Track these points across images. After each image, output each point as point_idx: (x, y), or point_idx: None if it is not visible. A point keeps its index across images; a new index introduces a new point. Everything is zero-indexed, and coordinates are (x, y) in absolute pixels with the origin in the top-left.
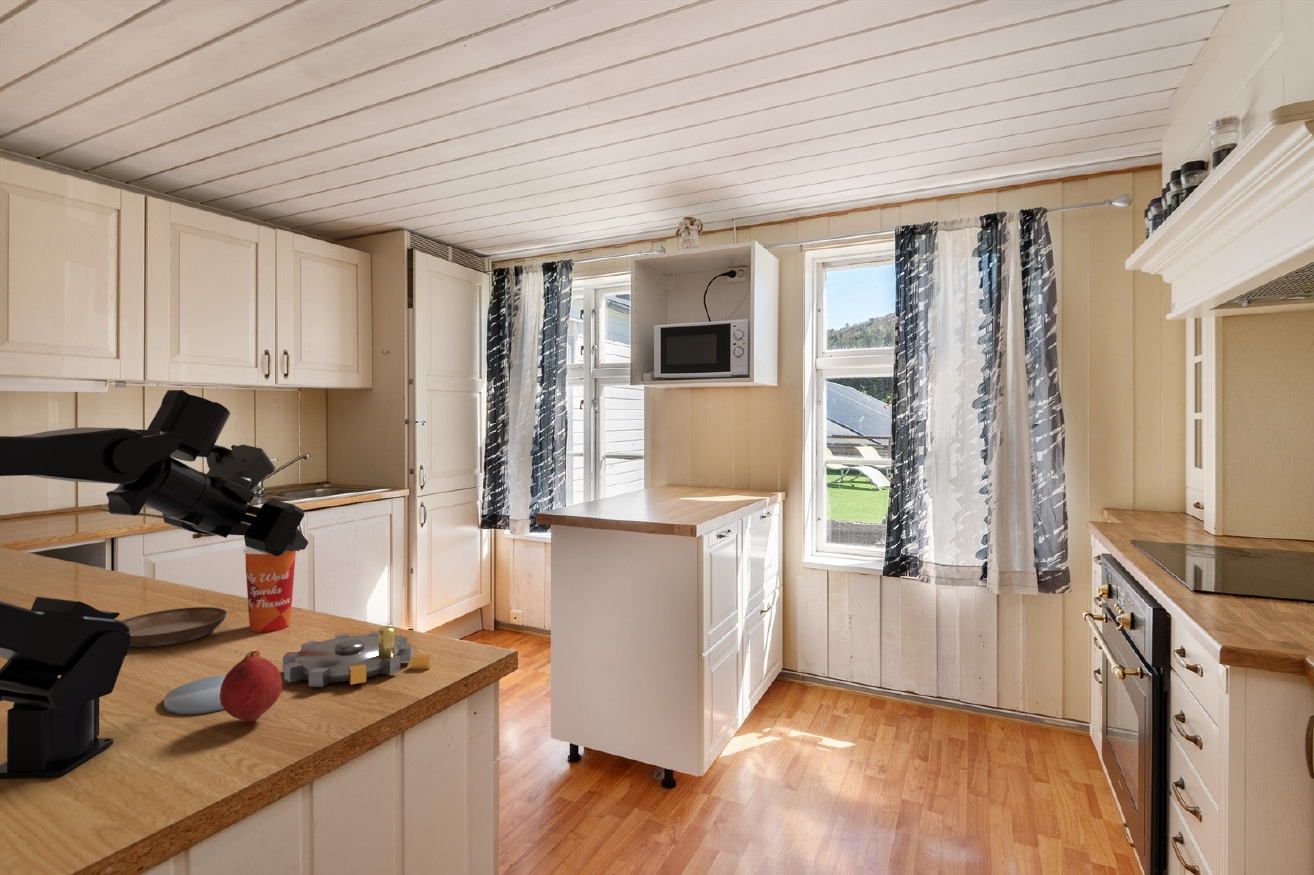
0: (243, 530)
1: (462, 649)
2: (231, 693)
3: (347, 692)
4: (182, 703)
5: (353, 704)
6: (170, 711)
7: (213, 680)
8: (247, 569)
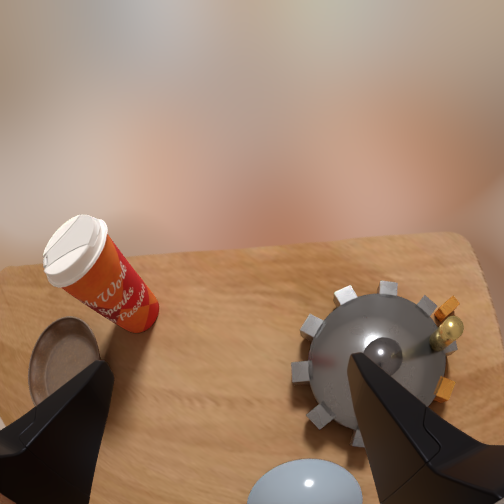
0: (97, 413)
1: (425, 249)
2: None
3: (441, 410)
4: None
5: (471, 420)
6: None
7: (270, 493)
8: (75, 297)
